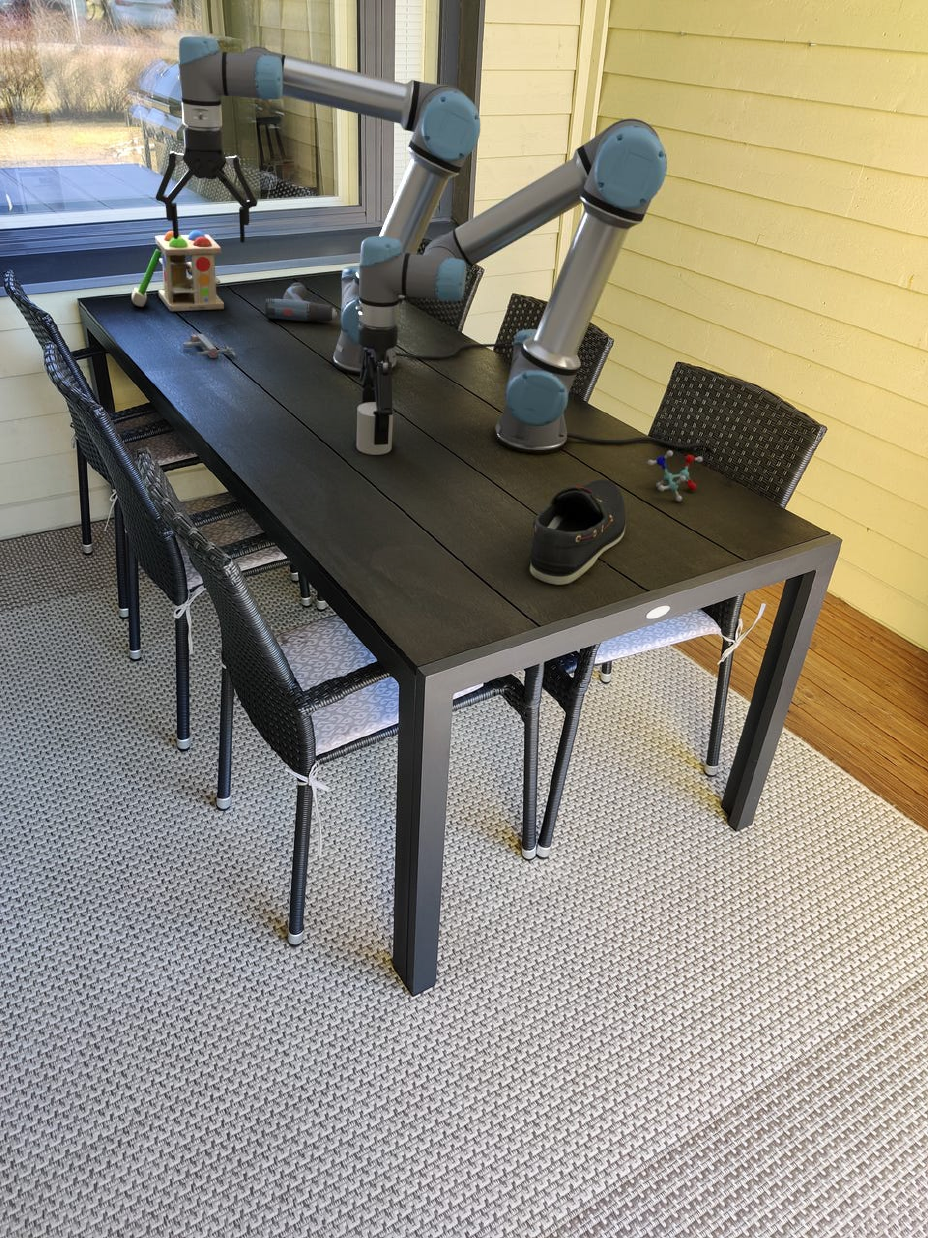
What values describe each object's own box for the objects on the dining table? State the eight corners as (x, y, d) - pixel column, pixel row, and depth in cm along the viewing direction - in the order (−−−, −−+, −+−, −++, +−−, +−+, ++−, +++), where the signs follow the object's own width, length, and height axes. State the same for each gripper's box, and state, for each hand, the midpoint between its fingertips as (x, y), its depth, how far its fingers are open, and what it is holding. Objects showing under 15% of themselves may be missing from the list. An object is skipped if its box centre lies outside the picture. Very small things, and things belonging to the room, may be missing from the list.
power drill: (344, 304, 276) (335, 327, 259) (277, 298, 275) (264, 321, 258) (344, 285, 273) (335, 306, 256) (277, 279, 272) (264, 300, 255)
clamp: (178, 335, 238) (218, 331, 242) (178, 343, 239) (218, 340, 243) (197, 356, 227) (238, 351, 232) (197, 365, 228) (239, 360, 233)
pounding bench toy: (137, 313, 255) (129, 242, 244) (126, 297, 265) (119, 228, 255) (225, 308, 264) (221, 239, 254) (211, 293, 274) (207, 225, 264)
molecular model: (706, 495, 186) (690, 444, 184) (657, 509, 189) (642, 459, 188) (711, 487, 196) (697, 439, 195) (665, 501, 200) (651, 454, 198)
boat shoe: (648, 521, 183) (657, 470, 178) (567, 591, 159) (574, 534, 154) (587, 503, 189) (593, 452, 184) (499, 567, 165) (504, 512, 160)
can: (361, 455, 196) (362, 417, 191) (352, 441, 201) (353, 403, 197) (395, 453, 198) (397, 414, 194) (386, 438, 204) (387, 401, 199)
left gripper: (134, 125, 189) (145, 239, 201) (266, 134, 193) (269, 246, 205) (140, 119, 195) (150, 231, 207) (267, 128, 199) (270, 237, 211)
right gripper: (346, 304, 194) (344, 409, 206) (372, 345, 175) (368, 457, 188) (383, 304, 196) (379, 408, 208) (412, 344, 178) (406, 455, 190)
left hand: (209, 239), depth 206 cm, fingers open, 13 cm apart
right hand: (374, 431), depth 198 cm, fingers open, 11 cm apart
